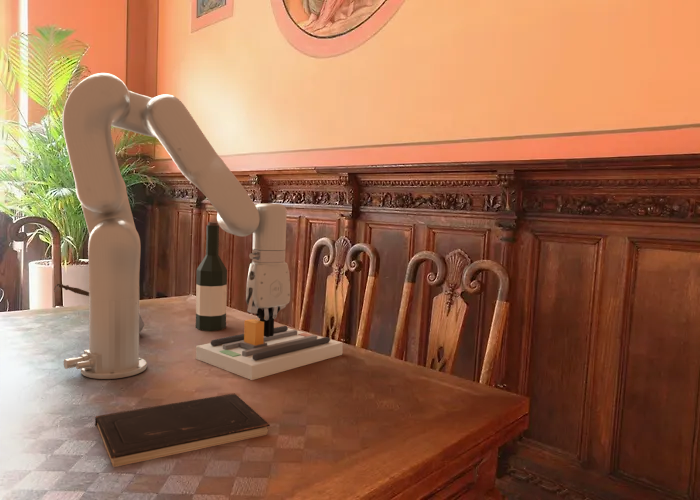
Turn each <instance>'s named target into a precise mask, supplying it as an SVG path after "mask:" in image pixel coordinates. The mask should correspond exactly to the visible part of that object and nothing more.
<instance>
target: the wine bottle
mask: <svg viewBox="0 0 700 500" xmlns="http://www.w3.org/2000/svg"><path fill="white" fill-rule="evenodd" d="M205 234H206V235H205V238H206V239H205V240H206V243H205V256H204V257H203V259H202V261H201V262H200V264H199V265H198V266H197V268H196V277H195V278H196V281H195V284H196V285H195V291H196V293H195V294H196V295H195V329H197V330H198V331H205V332H215V331H222V330H224V329H226V328H227V294H228V293H227V292H228V291H227V290H228V286H227V285H228V269H227V267H226V265H225V264H224V262H223V260H222V259H221V257H220V256H219V246H220V245H219V243H220V240H219V239H220V226H219V224H218V222H217V221H208V222H207V224H206V231H205Z"/></svg>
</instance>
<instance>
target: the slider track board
mask: <svg viewBox="0 0 700 500" xmlns="http://www.w3.org/2000/svg"><path fill="white" fill-rule="evenodd" d="M324 337H325V336H324ZM324 337H323V336H320V335H315V334H312V333H308V332H304V331H301V330H297V329H292V328H290V327H288V330H287V331H284V332H279V333H274V335H273V336H270V337H266V336H264V342H265V343H267V346H263V347H258V348H254V349H246V348H243V347H240V342H243V341H244V340H240V341H236V342H231V343H226V344H221V345H216V346H212V345H211V342H209V343H204V344H200V345H199V344H198V345H195V346H196V347H195V360H198V361H201V362H203V363H206V364H209V365H211V366H214V367H216V368H219V369H222V370H223V371H224V370H225V371H227V372H229V373H232V374H235V375H238V376H240V377H242V378H245V379H248V380H251V381H253V380H254V381H255V380H257V379H261V378H264V377H267V376H271V375H272V376H273V375H274V374H275V375H276V374H279V373H282V372H285V371H289V370H293V369H297V368H299V367H303V366H306V365H307V366H308V365H310V364H315V363H318V362H322V361H326V360H327V359H332V358H335V357H338V356H342V355H343V350H344V349H343V346H344V343H343V342H342V341H338V340H335V339H330V341H329V342H328V343H324V344H320V345H316V346H312V347H308V348H304V349H300V350H296V351H292V352H288V353H284V354H280V355H276V356H272V357H268V358H264V359H260V360H253V358H252V357H253V355H254V354H256V353H261V352H265V351H269V350H273V349H278V348H282V347H286V346H290V345H294V344H299V343H303V342H307V341H311V340H316V339H320V338H324Z"/></svg>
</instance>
